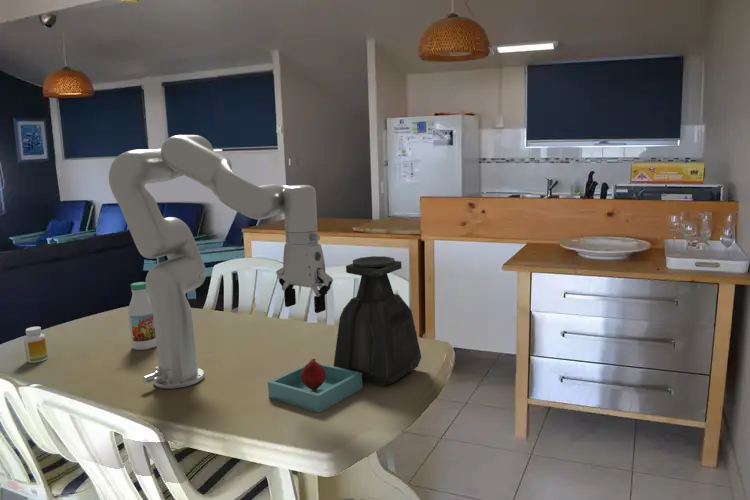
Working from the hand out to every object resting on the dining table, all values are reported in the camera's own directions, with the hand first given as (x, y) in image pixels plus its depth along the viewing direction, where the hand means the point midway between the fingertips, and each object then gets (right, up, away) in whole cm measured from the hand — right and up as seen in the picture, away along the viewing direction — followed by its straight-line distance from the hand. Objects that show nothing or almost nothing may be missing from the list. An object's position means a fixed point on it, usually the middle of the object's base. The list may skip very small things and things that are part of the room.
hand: (305, 308), depth 148 cm
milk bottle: (-54, -16, +42) cm, 71 cm away
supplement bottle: (-83, -19, +34) cm, 91 cm away
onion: (+2, -20, +2) cm, 20 cm away
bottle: (+18, -18, +12) cm, 28 cm away
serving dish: (+3, -21, +1) cm, 21 cm away
